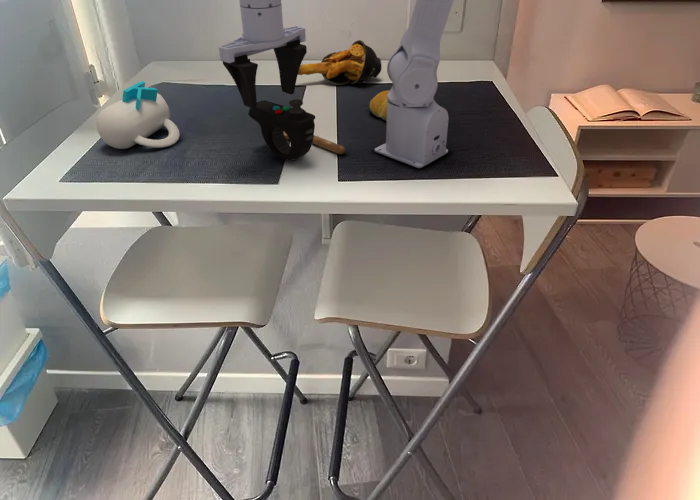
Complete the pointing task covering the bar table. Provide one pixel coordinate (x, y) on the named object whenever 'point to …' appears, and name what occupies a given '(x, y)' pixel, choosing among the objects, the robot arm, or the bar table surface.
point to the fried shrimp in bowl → (346, 65)
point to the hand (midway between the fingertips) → (269, 99)
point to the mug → (136, 119)
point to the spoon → (325, 144)
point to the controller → (285, 128)
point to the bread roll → (380, 105)
